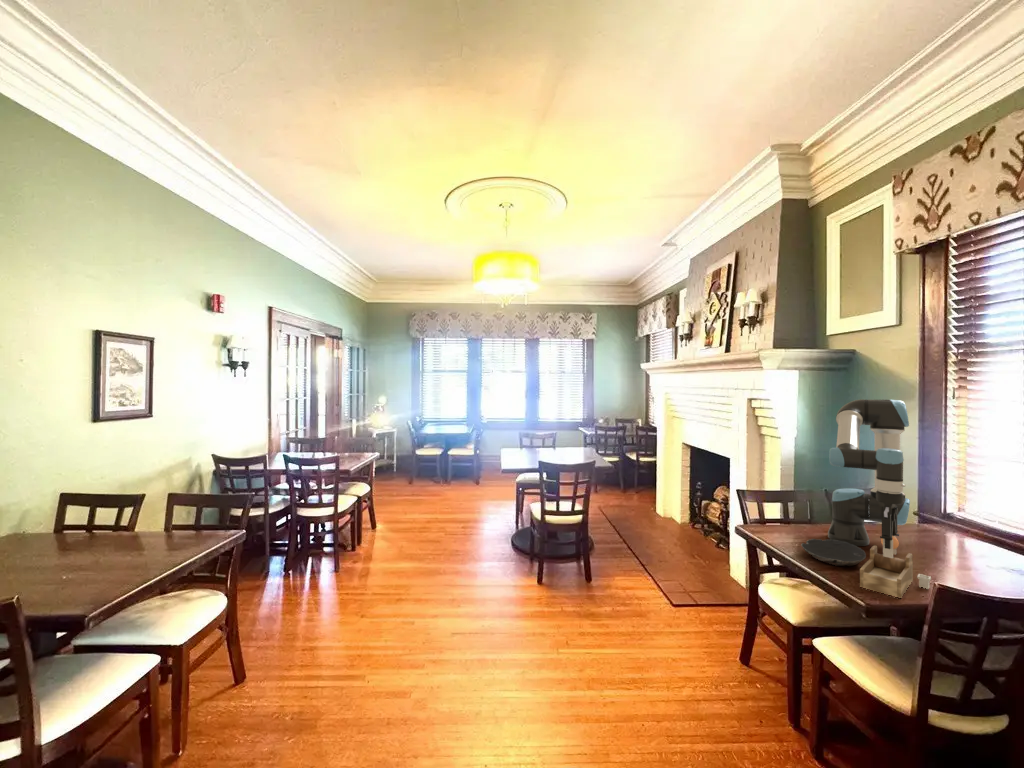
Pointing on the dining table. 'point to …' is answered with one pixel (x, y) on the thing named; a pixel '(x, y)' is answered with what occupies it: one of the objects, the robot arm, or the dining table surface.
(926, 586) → the grey egg cup
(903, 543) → the dining table surface
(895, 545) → the ball
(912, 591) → the dining table surface
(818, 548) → the board
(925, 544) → the dining table surface
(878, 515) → the robot arm
